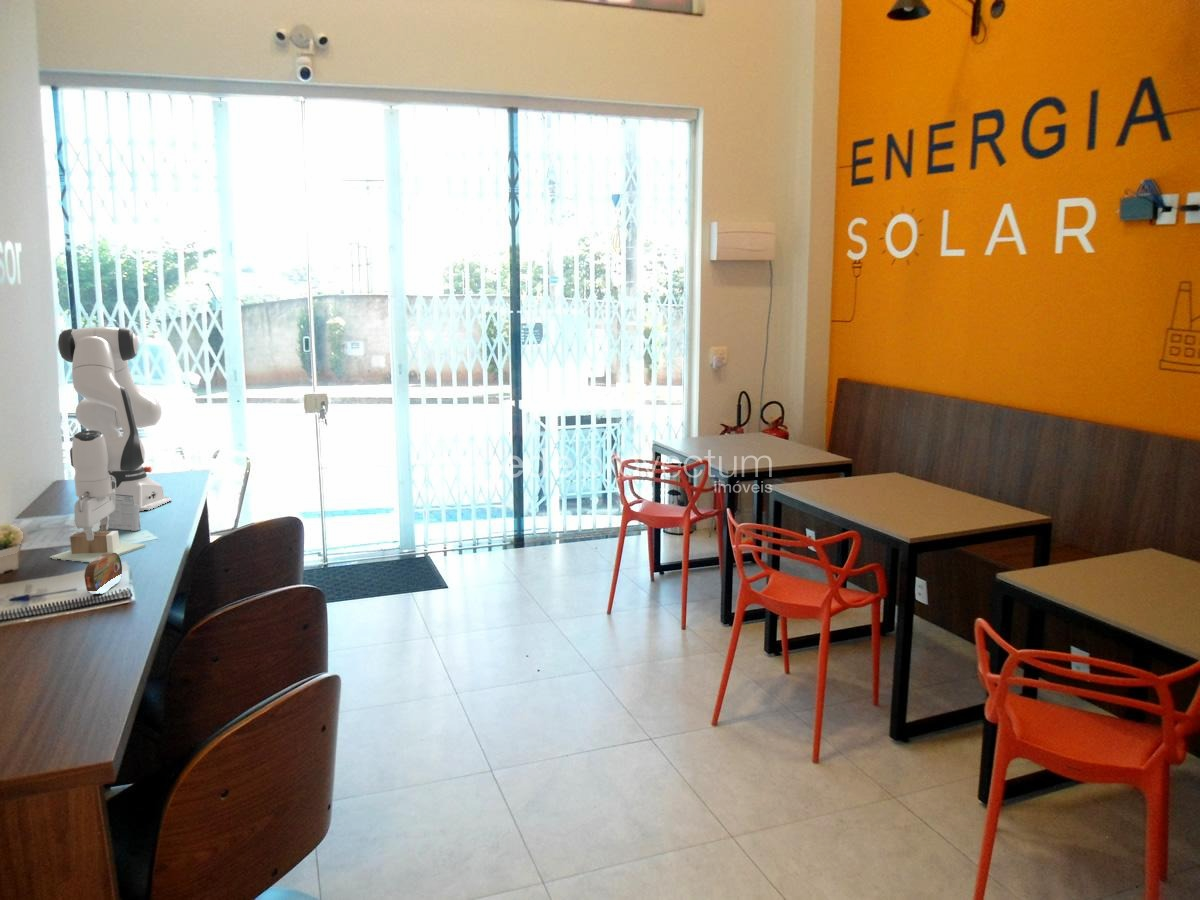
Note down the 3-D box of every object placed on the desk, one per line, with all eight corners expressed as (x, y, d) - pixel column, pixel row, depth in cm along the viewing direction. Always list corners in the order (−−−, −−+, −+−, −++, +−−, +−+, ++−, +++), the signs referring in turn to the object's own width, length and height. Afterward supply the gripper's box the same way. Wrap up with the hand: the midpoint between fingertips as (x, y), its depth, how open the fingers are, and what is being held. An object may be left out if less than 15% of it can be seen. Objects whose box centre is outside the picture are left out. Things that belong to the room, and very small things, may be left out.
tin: (97, 599, 219) (94, 566, 217) (83, 599, 219) (80, 566, 217) (124, 579, 234) (121, 548, 232) (111, 579, 233) (109, 548, 232)
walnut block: (77, 532, 258) (118, 530, 259) (78, 548, 259) (119, 547, 260) (69, 536, 253) (111, 535, 255) (71, 553, 254) (113, 552, 255)
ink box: (141, 530, 282) (138, 494, 280) (135, 531, 280) (132, 495, 278) (113, 526, 285) (110, 491, 283) (107, 528, 283) (104, 492, 281)
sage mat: (101, 541, 268) (101, 540, 268) (145, 546, 263) (145, 544, 263) (49, 558, 251) (49, 556, 251) (95, 563, 246) (95, 561, 246)
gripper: (90, 496, 244) (95, 545, 247) (118, 480, 264) (122, 525, 267) (65, 497, 243) (70, 546, 246) (95, 480, 263) (99, 526, 266)
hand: (97, 535), depth 257 cm, fingers open, 8 cm apart
